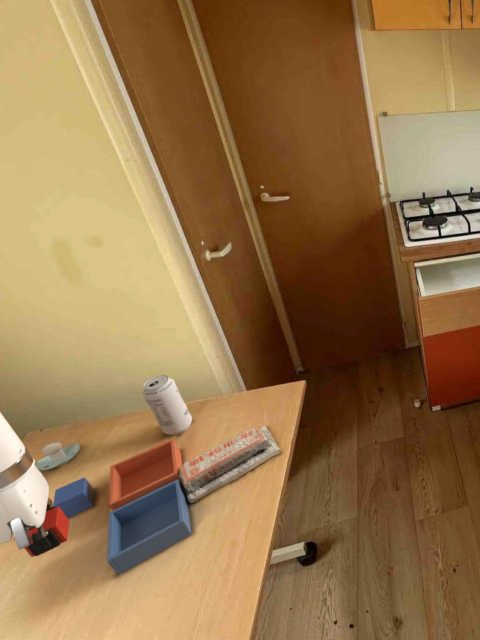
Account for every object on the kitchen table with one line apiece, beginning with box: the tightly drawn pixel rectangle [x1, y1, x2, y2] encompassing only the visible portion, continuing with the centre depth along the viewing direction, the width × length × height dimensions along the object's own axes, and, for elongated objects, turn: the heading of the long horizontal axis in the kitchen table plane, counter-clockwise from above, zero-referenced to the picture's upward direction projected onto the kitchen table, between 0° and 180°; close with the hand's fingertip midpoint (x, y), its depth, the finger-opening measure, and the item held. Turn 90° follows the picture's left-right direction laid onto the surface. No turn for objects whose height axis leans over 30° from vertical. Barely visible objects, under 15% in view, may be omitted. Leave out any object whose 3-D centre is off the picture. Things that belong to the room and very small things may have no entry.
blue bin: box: [106, 479, 192, 575], centre depth 83 cm, size 11×11×4 cm
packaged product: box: [179, 425, 280, 504], centre depth 96 cm, size 18×5×10 cm
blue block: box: [52, 476, 95, 519], centre depth 87 cm, size 4×4×4 cm
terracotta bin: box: [108, 438, 184, 511], centre depth 92 cm, size 11×11×4 cm
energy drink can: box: [142, 374, 193, 436], centre depth 103 cm, size 6×6×15 cm
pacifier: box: [35, 442, 80, 471], centre depth 96 cm, size 7×6×6 cm
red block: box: [24, 506, 70, 558], centre depth 75 cm, size 4×4×4 cm
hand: (49, 536), depth 76 cm, fingers closed on red block, 4 cm apart
